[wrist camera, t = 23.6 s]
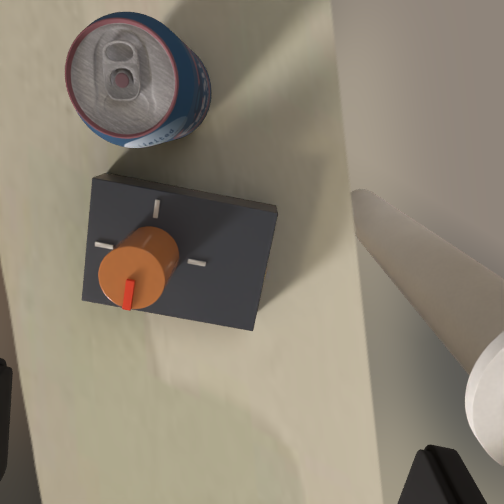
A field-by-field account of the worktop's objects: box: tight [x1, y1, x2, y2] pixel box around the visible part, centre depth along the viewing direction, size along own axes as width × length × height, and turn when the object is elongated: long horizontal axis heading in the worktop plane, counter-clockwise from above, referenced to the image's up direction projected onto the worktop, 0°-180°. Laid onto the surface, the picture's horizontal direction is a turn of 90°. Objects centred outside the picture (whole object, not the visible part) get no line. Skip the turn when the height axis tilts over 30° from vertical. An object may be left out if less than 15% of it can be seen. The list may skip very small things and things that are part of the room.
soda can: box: [65, 12, 211, 148], centre depth 28 cm, size 7×7×12 cm
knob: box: [98, 226, 179, 310], centre depth 32 cm, size 4×4×6 cm
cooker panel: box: [82, 173, 278, 331], centre depth 36 cm, size 14×10×3 cm
